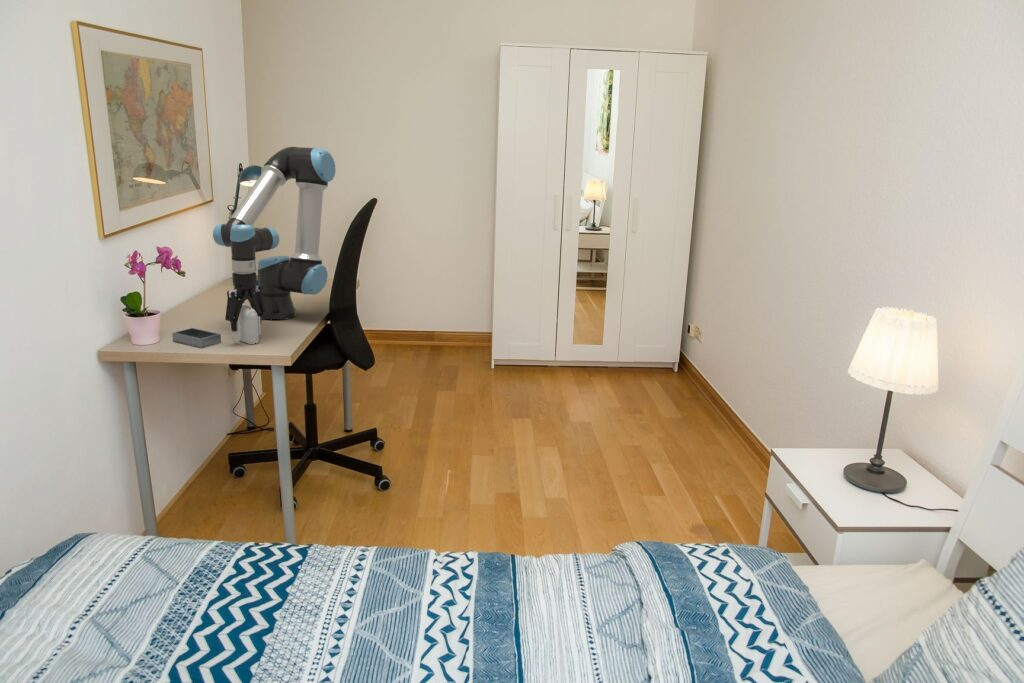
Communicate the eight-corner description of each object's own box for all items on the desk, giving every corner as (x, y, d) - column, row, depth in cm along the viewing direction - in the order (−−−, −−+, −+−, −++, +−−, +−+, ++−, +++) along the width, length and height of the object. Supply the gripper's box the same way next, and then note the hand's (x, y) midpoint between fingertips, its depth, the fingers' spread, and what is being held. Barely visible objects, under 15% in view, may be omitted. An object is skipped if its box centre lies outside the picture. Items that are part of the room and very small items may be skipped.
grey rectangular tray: (192, 336, 253) (192, 327, 252) (221, 342, 248) (220, 333, 247) (172, 341, 246) (172, 332, 245) (201, 348, 241) (201, 339, 240)
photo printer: (234, 338, 253) (232, 303, 250) (245, 336, 256) (244, 302, 253) (248, 345, 246) (247, 309, 243) (260, 343, 249) (259, 308, 246)
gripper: (227, 278, 234) (231, 345, 240) (275, 269, 253) (277, 332, 259) (210, 275, 237) (214, 342, 243) (259, 266, 256) (261, 328, 262)
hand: (247, 337), depth 251 cm, fingers open, 9 cm apart
